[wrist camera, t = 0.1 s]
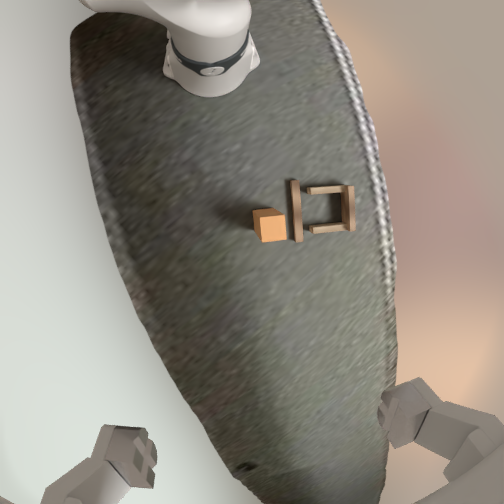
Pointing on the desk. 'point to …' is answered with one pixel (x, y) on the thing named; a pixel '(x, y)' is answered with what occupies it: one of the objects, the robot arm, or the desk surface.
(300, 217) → the door edge strip
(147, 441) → the robot arm
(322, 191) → the index bracket
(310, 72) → the desk surface
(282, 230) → the block
